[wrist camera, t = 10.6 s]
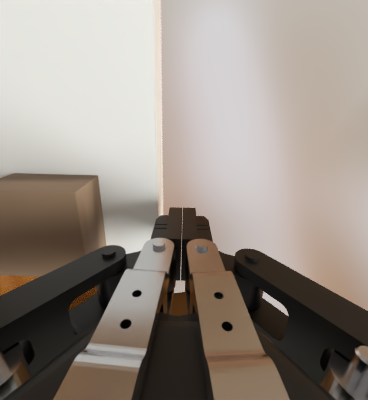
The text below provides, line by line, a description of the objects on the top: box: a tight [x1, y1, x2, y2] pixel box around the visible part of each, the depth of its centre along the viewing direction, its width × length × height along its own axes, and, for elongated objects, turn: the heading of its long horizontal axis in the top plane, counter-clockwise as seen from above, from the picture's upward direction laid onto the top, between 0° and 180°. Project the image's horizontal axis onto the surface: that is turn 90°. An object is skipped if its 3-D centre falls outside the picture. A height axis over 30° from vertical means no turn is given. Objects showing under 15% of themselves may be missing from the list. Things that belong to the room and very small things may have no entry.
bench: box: [0, 0, 163, 254], centre depth 14 cm, size 16×12×4 cm
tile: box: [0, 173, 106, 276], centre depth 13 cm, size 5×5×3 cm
